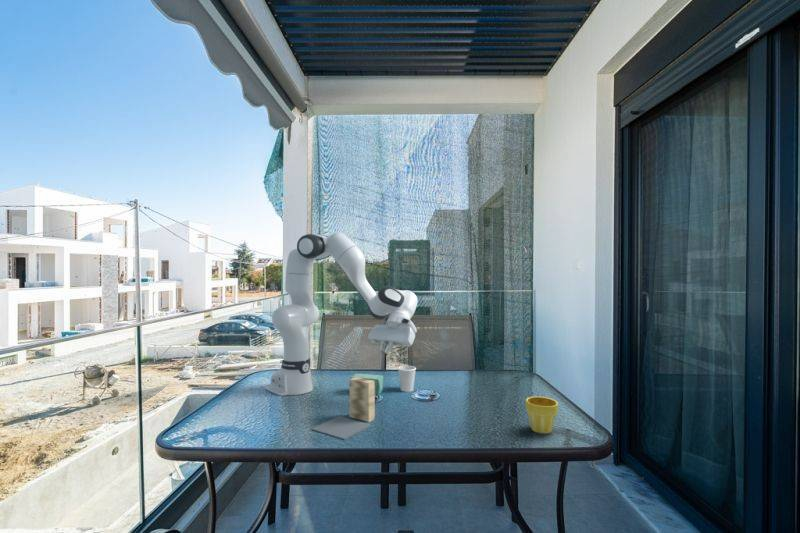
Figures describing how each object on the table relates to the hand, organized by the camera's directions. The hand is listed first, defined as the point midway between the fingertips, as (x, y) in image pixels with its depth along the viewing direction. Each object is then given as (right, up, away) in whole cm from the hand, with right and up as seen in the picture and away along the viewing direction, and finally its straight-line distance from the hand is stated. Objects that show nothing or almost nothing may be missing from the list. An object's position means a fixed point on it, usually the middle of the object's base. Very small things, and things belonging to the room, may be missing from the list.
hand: (383, 352), depth 162 cm
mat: (-14, -22, -20) cm, 33 cm away
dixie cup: (+10, -22, +23) cm, 34 cm away
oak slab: (-7, -22, -11) cm, 26 cm away
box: (-8, -22, +20) cm, 31 cm away
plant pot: (+55, -22, -22) cm, 63 cm away
